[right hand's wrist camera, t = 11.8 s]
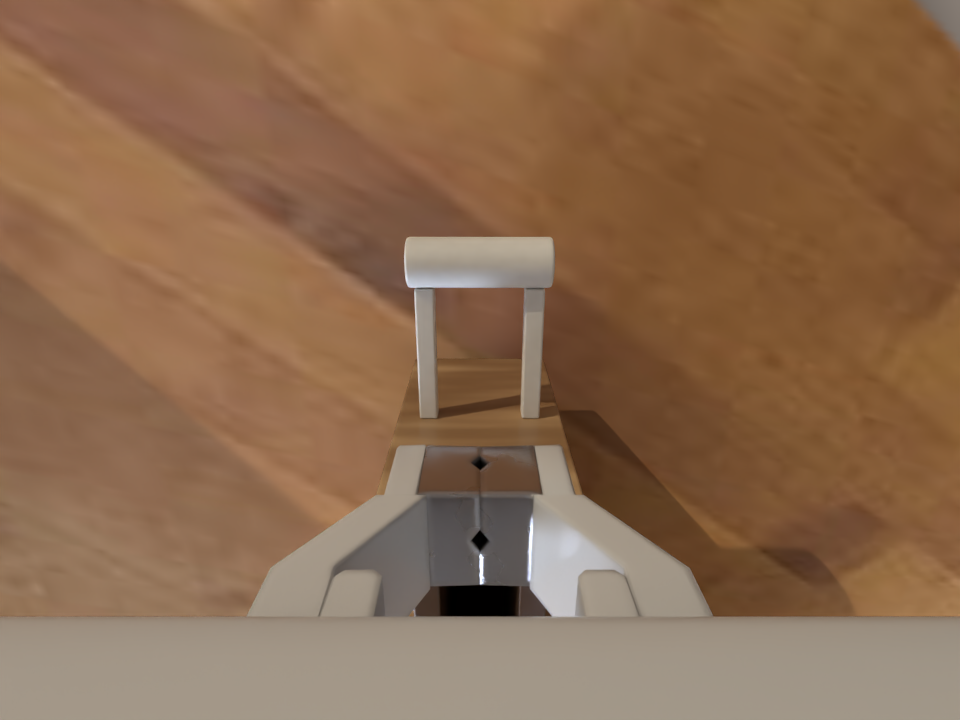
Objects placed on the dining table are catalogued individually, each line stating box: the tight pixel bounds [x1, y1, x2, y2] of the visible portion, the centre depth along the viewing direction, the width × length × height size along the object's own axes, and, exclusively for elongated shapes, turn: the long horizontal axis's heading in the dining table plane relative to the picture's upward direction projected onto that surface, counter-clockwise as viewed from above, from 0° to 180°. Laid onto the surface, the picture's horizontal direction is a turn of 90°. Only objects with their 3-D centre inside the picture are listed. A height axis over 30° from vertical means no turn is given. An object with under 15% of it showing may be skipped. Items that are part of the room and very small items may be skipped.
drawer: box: [376, 237, 583, 616], centre depth 21 cm, size 24×6×10 cm, turn 0°
